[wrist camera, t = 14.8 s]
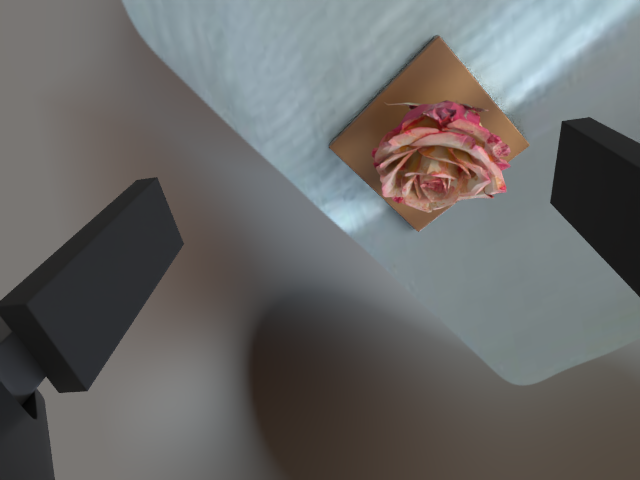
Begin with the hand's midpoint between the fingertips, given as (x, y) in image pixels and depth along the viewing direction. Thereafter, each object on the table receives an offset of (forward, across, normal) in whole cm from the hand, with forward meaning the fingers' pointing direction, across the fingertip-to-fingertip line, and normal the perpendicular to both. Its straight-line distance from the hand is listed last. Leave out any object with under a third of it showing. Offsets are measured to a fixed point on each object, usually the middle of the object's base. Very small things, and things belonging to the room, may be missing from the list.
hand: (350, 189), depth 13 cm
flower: (+19, +5, -6) cm, 20 cm away
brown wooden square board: (+20, +5, -6) cm, 21 cm away
